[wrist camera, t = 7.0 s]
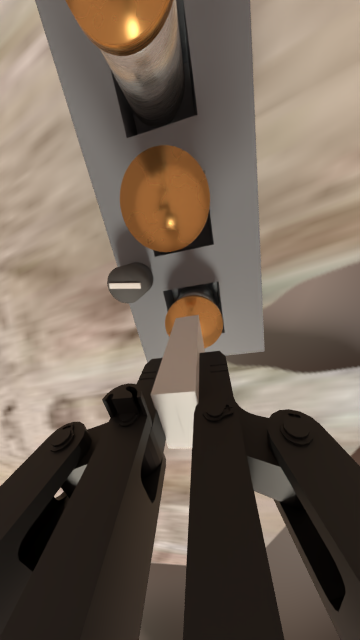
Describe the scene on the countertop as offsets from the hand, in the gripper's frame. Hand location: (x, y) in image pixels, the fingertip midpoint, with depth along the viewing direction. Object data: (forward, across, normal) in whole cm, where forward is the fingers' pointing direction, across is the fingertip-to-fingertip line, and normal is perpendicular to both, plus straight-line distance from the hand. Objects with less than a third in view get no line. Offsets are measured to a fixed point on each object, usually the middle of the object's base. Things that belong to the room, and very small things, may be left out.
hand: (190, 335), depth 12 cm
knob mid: (+6, 0, +8) cm, 10 cm away
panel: (+11, 0, +8) cm, 14 cm away
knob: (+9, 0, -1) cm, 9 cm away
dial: (+5, -4, +4) cm, 8 cm away
